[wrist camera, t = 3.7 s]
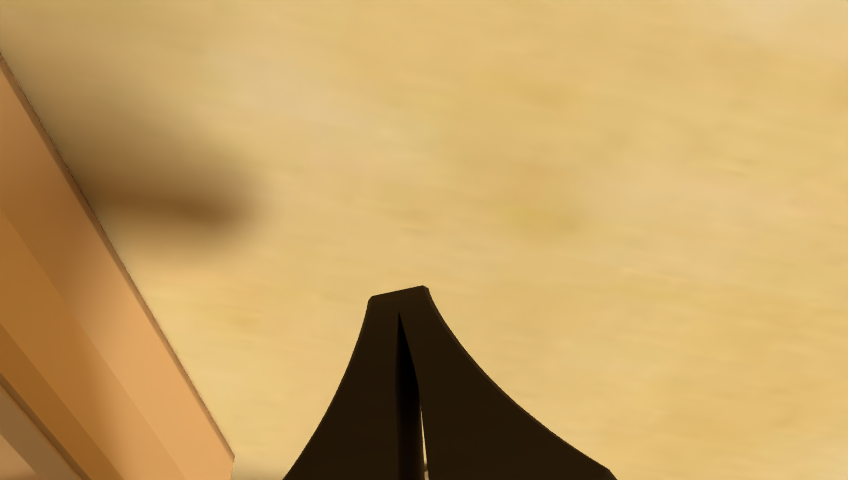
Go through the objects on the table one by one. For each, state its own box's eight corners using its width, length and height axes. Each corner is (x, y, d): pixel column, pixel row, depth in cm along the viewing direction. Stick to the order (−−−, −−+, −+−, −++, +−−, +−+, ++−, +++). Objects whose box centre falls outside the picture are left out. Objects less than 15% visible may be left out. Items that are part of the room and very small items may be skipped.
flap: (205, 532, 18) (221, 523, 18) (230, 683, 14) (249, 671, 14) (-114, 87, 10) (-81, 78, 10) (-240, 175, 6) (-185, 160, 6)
